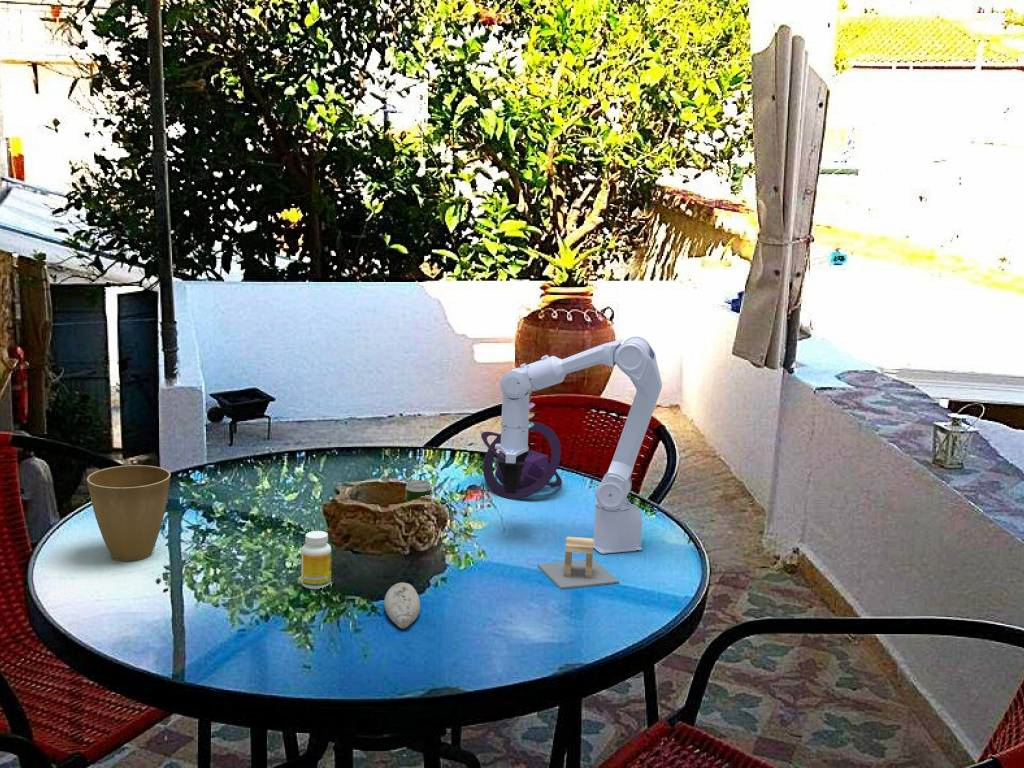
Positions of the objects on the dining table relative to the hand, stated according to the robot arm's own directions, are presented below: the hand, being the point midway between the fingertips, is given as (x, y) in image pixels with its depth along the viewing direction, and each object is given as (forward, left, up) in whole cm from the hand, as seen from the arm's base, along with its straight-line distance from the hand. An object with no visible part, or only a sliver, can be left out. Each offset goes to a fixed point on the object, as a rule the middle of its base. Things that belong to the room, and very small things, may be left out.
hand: (512, 487), depth 211 cm
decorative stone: (+32, +34, -11) cm, 48 cm away
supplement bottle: (+44, +18, -11) cm, 49 cm away
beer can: (+20, -2, -11) cm, 23 cm away
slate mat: (-5, +25, -10) cm, 28 cm away
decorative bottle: (-14, -32, -11) cm, 36 cm away
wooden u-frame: (-5, +25, -10) cm, 27 cm away
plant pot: (+76, -5, -11) cm, 77 cm away
